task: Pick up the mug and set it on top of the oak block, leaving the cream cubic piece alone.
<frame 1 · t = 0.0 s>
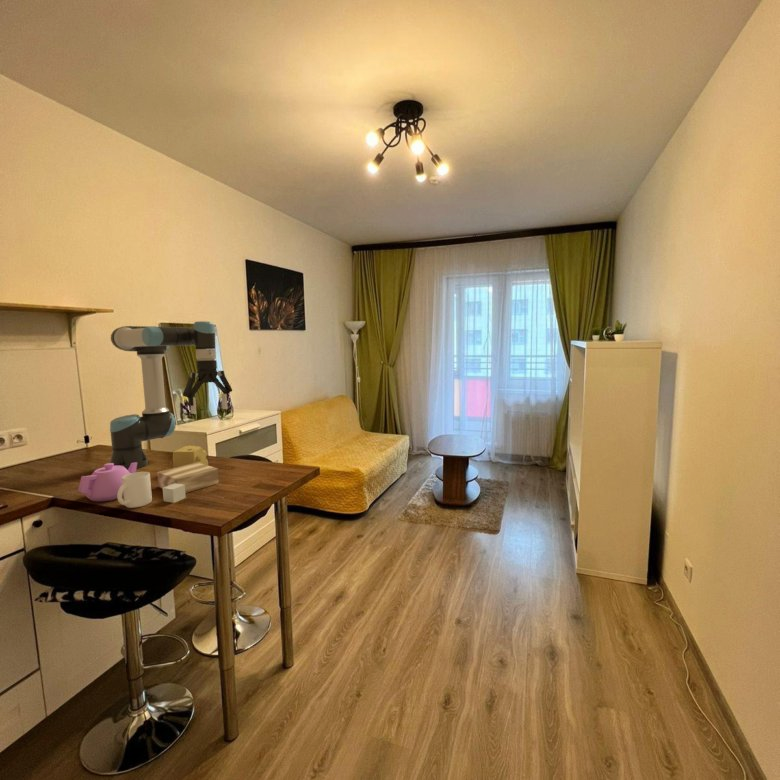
hand: (209, 411, 169), 28 cm above the breakfast bar, fingers open, 13 cm apart
cream cubic piece: (174, 499, 148), on the breakfast bar
mug: (134, 506, 142), on the breakfast bar
cheese: (191, 470, 183), on the breakfast bar
teapot: (111, 495, 154), on the breakfast bar
oak block: (188, 484, 163), on the breakfast bar
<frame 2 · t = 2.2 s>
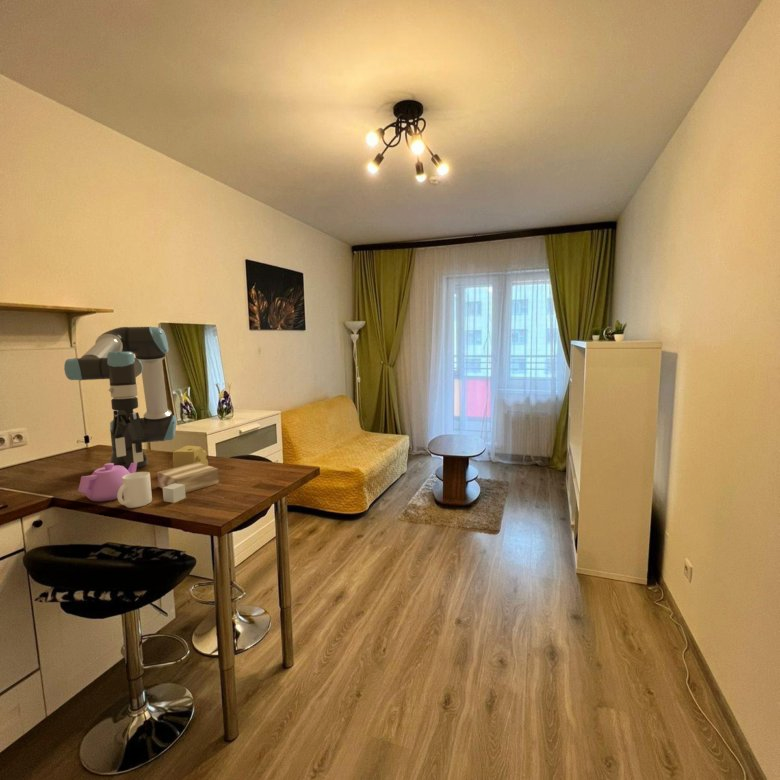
hand: (129, 459, 140), 17 cm above the breakfast bar, fingers open, 13 cm apart
nothing on the breakfast bar moved.
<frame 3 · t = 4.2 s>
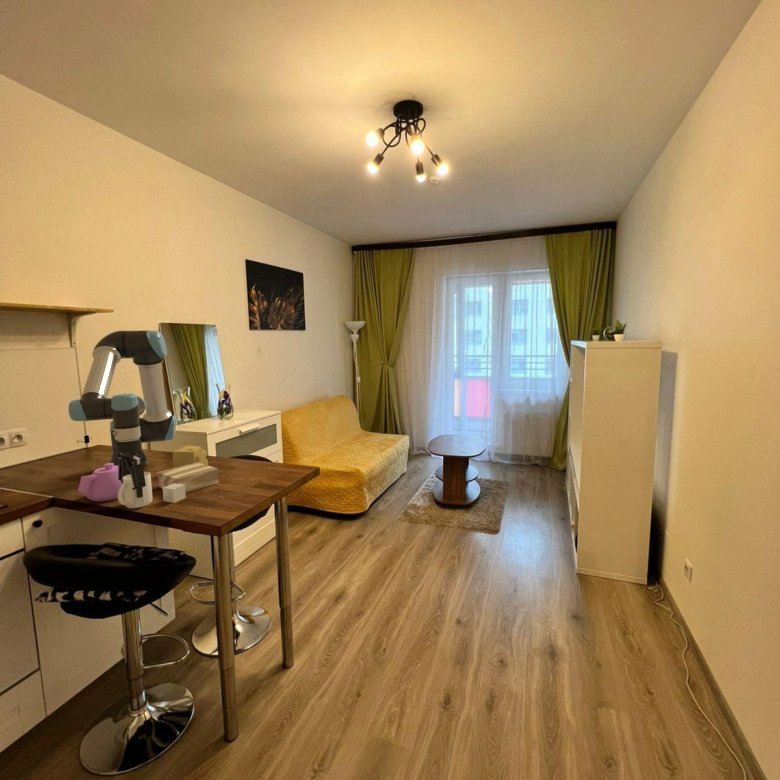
hand: (133, 503, 142), 1 cm above the breakfast bar, fingers closed on mug, 8 cm apart
mug: (134, 506, 142), on the breakfast bar, touching gripper
everything else where it was.
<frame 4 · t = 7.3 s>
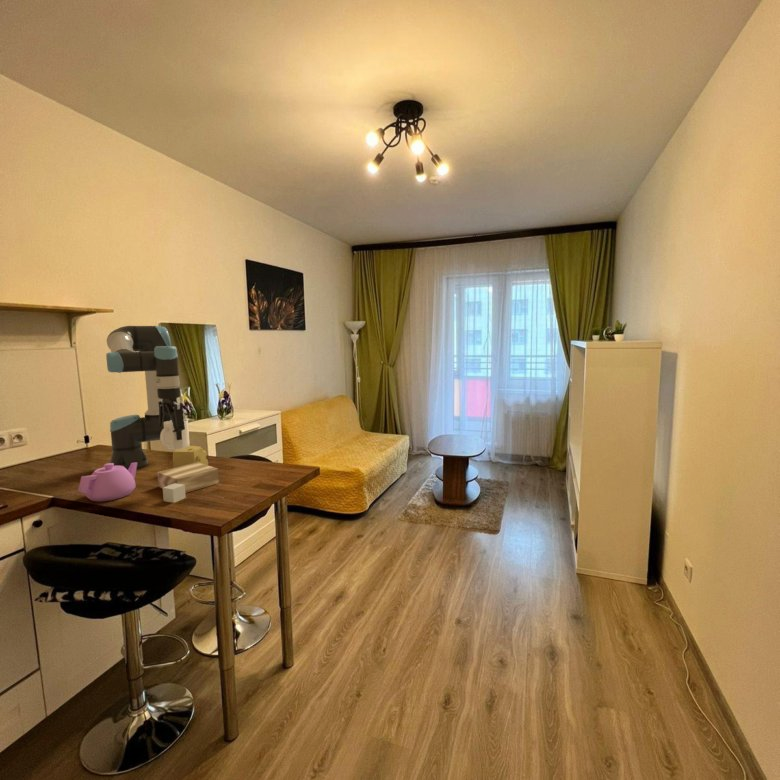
hand: (173, 446, 156), 17 cm above the breakfast bar, fingers closed on mug, 8 cm apart
mug: (174, 449, 156), point 16 cm above the breakfast bar, touching gripper
everything else where it was.
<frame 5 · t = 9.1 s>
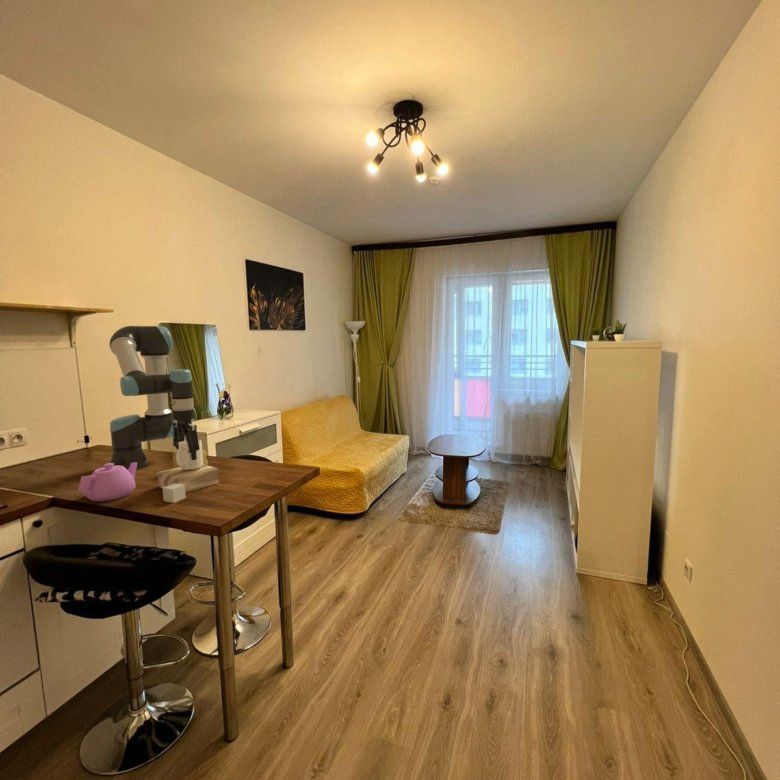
hand: (187, 465, 162), 8 cm above the breakfast bar, fingers closed on mug, 8 cm apart
mug: (188, 468, 162), point 7 cm above the breakfast bar, touching gripper
everything else where it was.
when the fingers open (7 cm above the breakfast bar, at t = 10.4 s): mug stays where it is, resting on oak block.
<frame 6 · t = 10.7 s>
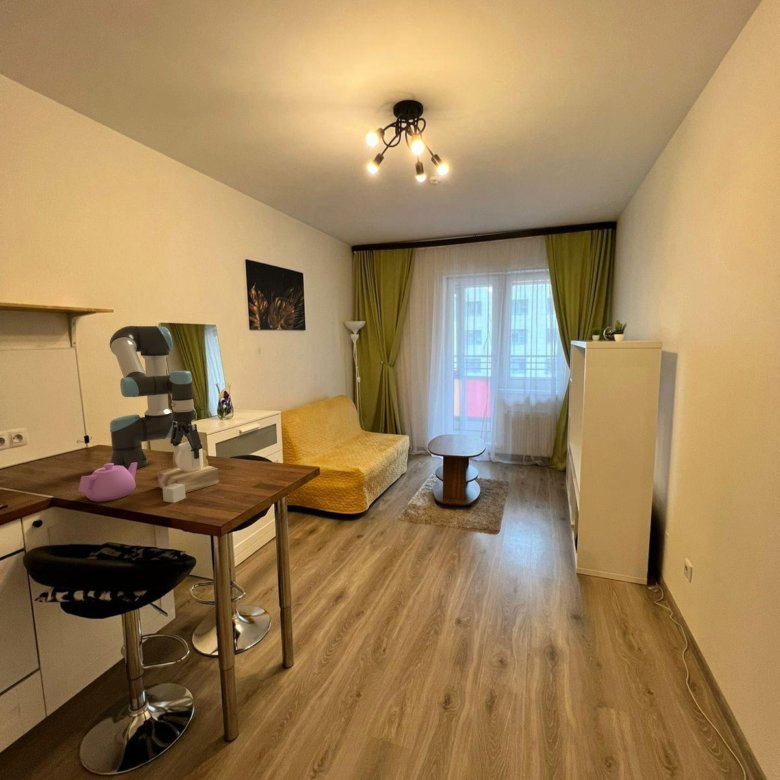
hand: (187, 464, 162), 9 cm above the breakfast bar, fingers open, 12 cm apart
mug: (188, 471, 162), point 6 cm above the breakfast bar, touching oak block
everything else where it was.
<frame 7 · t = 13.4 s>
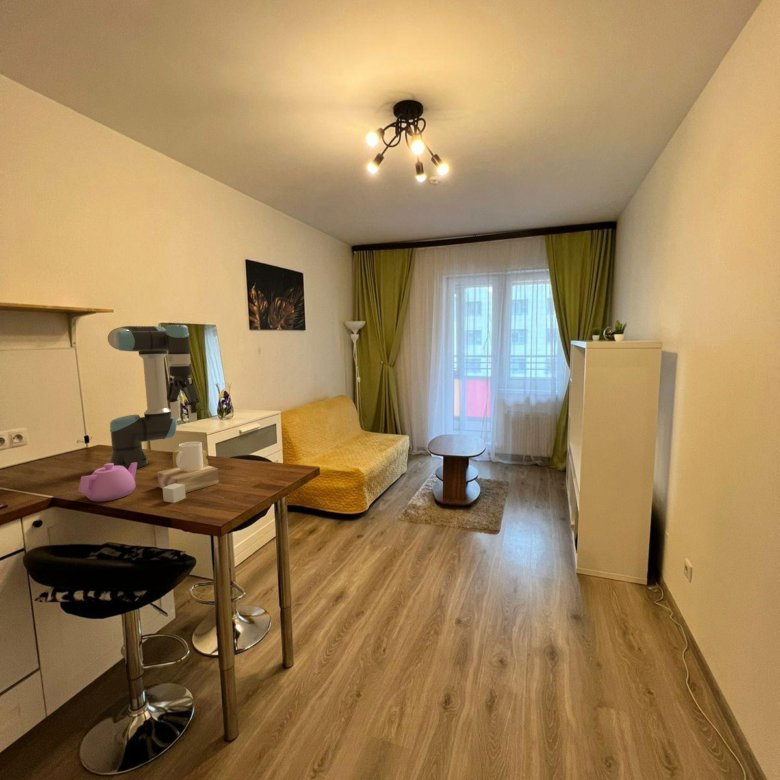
hand: (183, 419, 160), 26 cm above the breakfast bar, fingers open, 13 cm apart
nothing on the breakfast bar moved.
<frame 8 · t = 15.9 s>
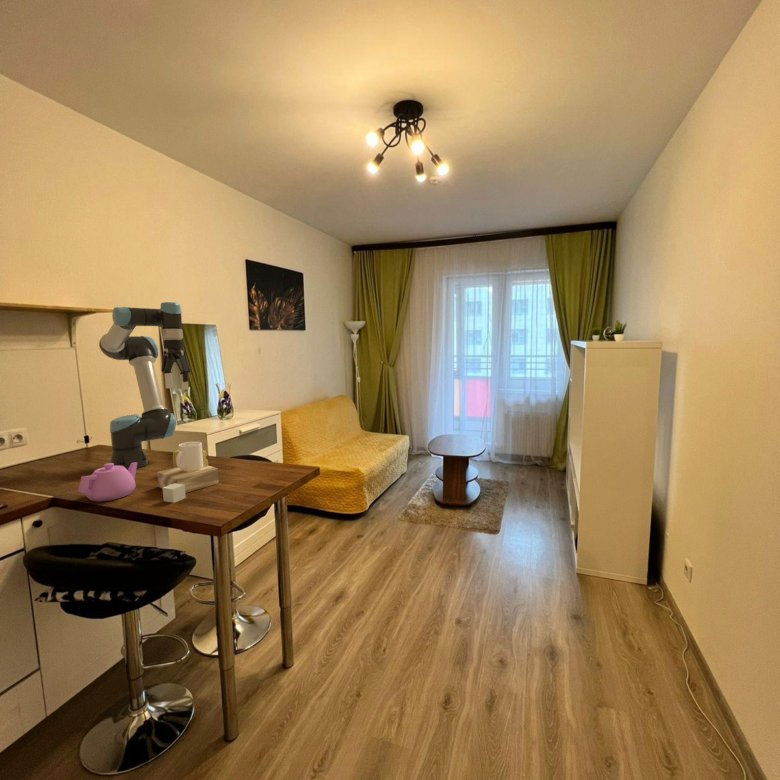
hand: (176, 388, 177), 37 cm above the breakfast bar, fingers open, 13 cm apart
nothing on the breakfast bar moved.
at the end: mug 0.7 cm from the oak block (horizontally); mug point 5.8 cm above the breakfast bar; mug tilted 0° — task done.
